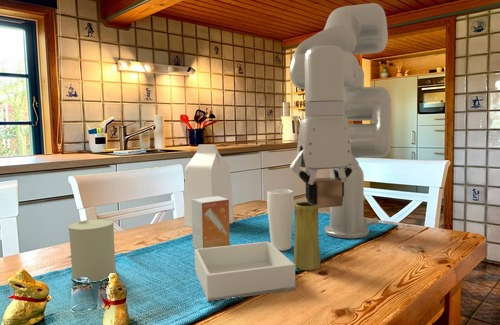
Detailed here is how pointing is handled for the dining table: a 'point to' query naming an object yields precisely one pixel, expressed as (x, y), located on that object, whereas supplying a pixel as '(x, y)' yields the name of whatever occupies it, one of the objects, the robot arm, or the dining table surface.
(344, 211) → the robot arm
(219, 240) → the small box
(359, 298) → the dining table surface
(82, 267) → the can
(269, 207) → the drinking glass
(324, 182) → the walnut cube
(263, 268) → the box
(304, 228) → the vase
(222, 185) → the milk
